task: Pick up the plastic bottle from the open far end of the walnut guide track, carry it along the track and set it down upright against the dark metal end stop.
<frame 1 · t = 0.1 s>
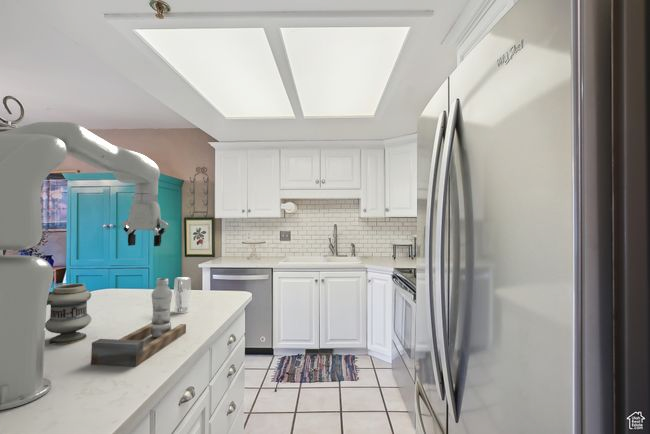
hand: (144, 245, 117), 31 cm above the counter, tool pointing down, fingers open, 9 cm apart
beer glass: (181, 312, 143), on the counter
guide track: (144, 346, 102), on the counter
apothecary jar: (68, 339, 107), on the counter
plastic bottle: (160, 337, 111), on the counter
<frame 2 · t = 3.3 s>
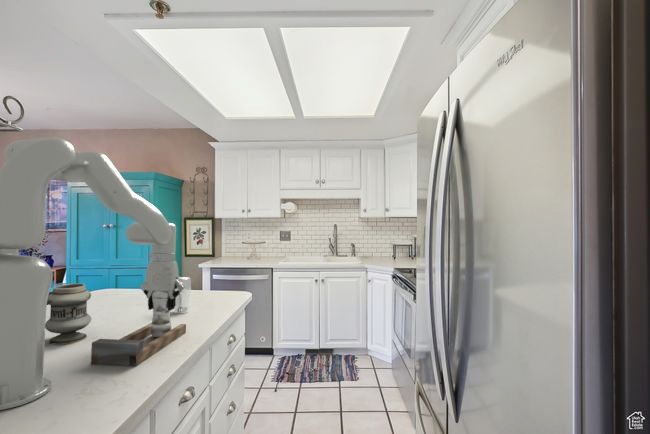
hand: (161, 308, 111), 10 cm above the counter, tool pointing down, fingers closed on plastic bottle, 6 cm apart
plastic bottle: (160, 337, 111), on the counter, touching gripper
everything else where it was.
when the fingers open (11 cm above the counter, at t = 9.6 s): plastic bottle drops 1 cm, on the counter.
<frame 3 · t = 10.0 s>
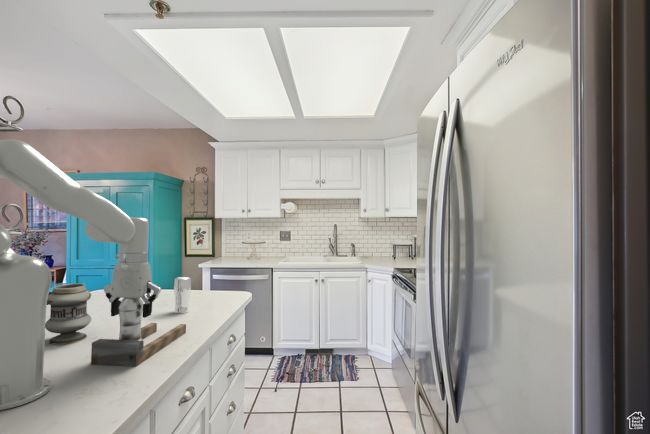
hand: (131, 315, 95), 12 cm above the counter, tool pointing down, fingers open, 9 cm apart
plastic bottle: (129, 356, 95), on the counter
everything else where it was.
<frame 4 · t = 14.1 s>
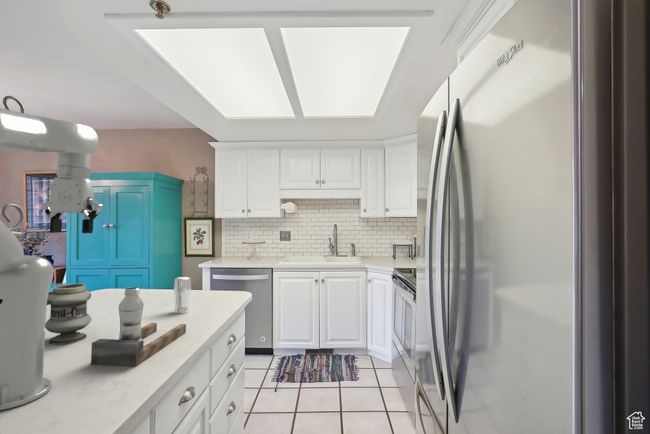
hand: (71, 232, 93), 36 cm above the counter, tool pointing down, fingers open, 9 cm apart
nothing on the counter moved.
at the end: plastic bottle 0.9 cm from the target spot, on the counter; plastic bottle tilted 1°; the gripper is holding nothing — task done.
